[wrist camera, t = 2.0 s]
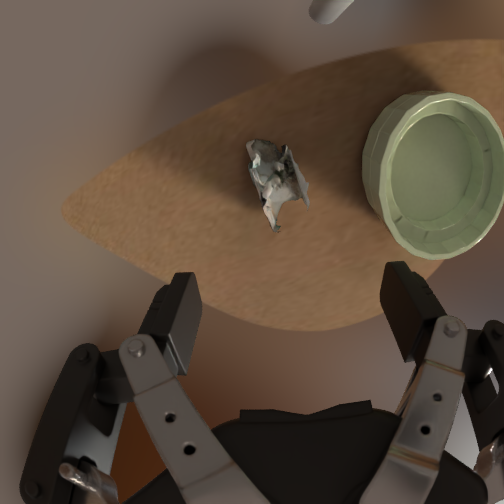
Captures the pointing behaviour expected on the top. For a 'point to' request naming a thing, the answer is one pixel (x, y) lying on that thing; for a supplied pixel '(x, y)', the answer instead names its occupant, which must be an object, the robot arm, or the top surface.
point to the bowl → (435, 172)
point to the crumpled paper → (275, 177)
